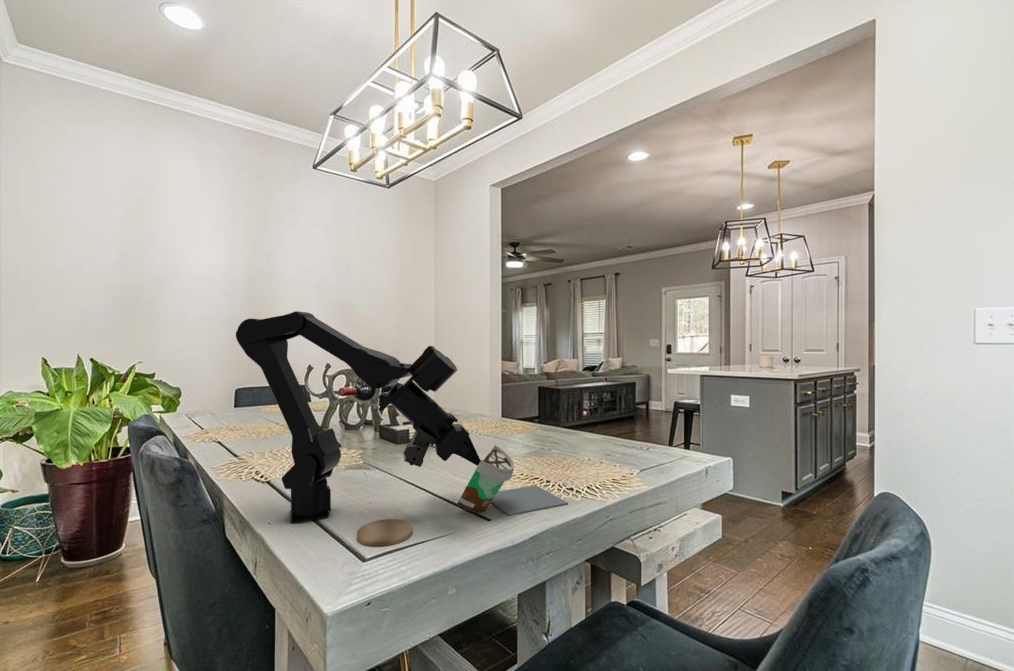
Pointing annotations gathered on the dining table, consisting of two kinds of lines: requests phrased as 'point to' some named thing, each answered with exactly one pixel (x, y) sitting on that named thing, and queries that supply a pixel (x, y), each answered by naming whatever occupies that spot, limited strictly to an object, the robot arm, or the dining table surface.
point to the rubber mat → (525, 500)
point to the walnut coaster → (384, 532)
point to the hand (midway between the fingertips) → (479, 463)
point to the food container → (487, 481)
